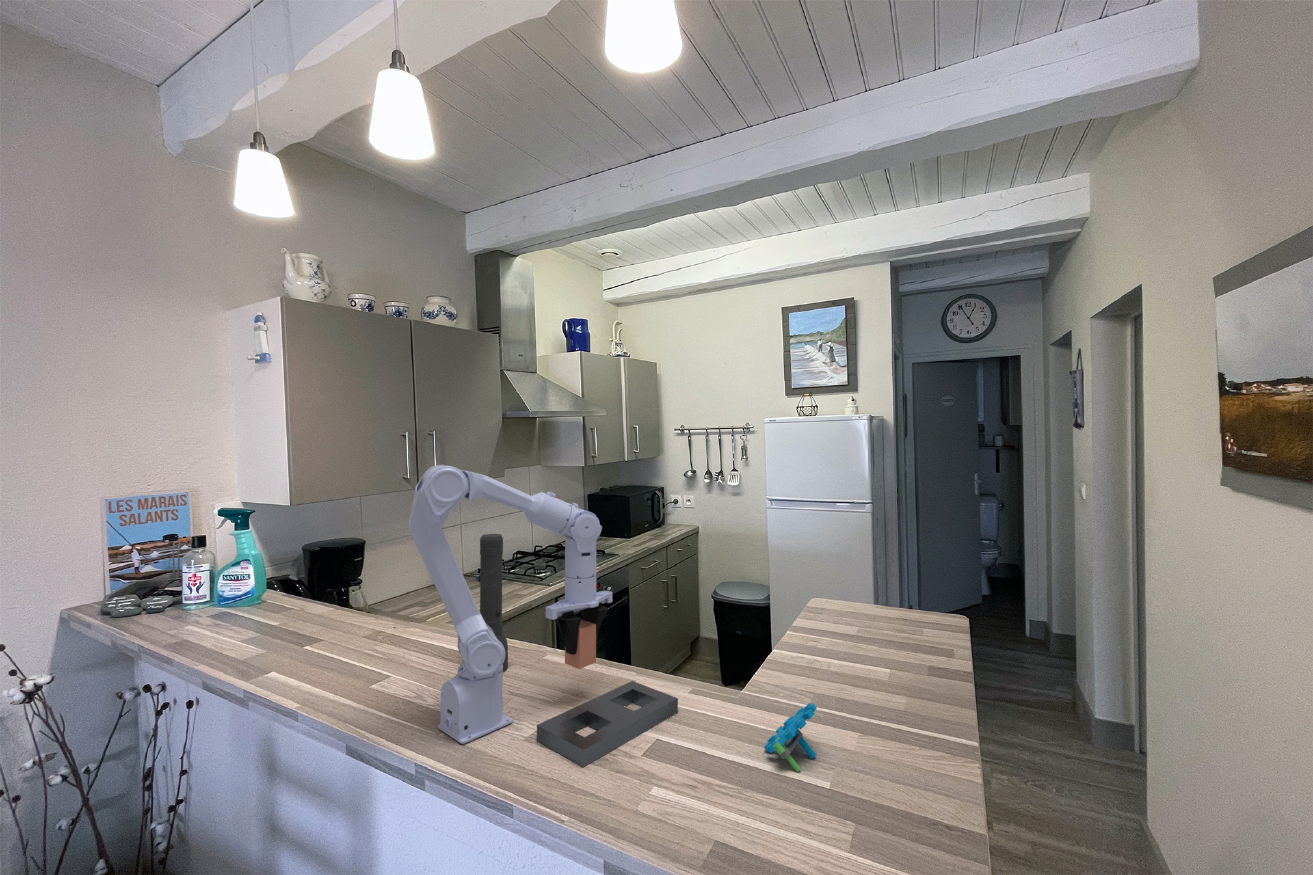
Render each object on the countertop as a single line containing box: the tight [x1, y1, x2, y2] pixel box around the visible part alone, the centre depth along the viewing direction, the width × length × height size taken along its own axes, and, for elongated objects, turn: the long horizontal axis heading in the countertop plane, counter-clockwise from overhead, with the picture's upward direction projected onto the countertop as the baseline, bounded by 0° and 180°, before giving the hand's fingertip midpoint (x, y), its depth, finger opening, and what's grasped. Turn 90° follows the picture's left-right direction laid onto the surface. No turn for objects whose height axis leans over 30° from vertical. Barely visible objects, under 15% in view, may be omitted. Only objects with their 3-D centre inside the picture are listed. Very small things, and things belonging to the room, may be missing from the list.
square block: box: [564, 619, 597, 670], centre depth 101 cm, size 4×4×7 cm
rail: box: [536, 680, 679, 768], centre depth 92 cm, size 22×11×2 cm, turn 139°
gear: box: [763, 703, 817, 773], centre depth 83 cm, size 11×6×10 cm
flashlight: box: [479, 533, 509, 673], centre depth 115 cm, size 7×28×7 cm
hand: (580, 649), depth 101 cm, fingers closed on square block, 4 cm apart
